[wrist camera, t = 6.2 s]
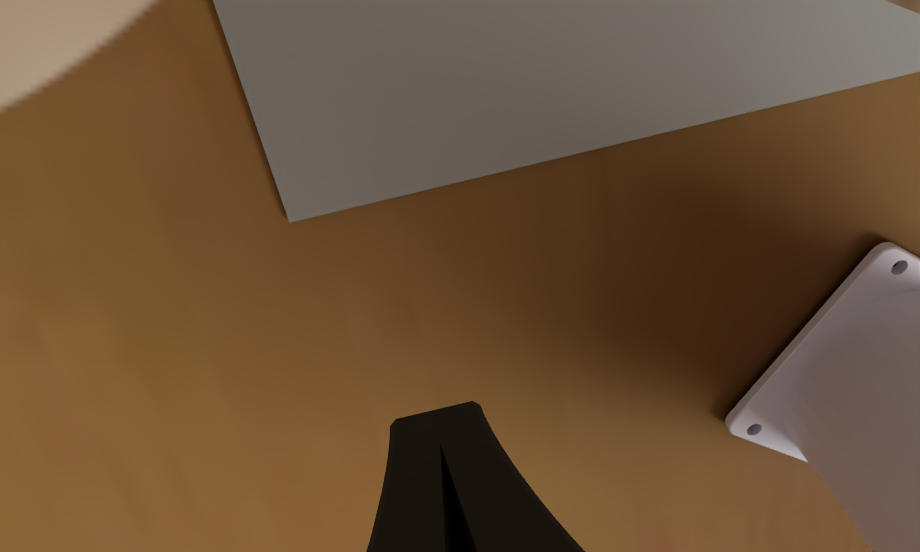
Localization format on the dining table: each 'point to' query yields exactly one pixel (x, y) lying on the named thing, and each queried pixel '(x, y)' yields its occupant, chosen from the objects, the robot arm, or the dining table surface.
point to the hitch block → (908, 4)
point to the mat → (525, 79)
